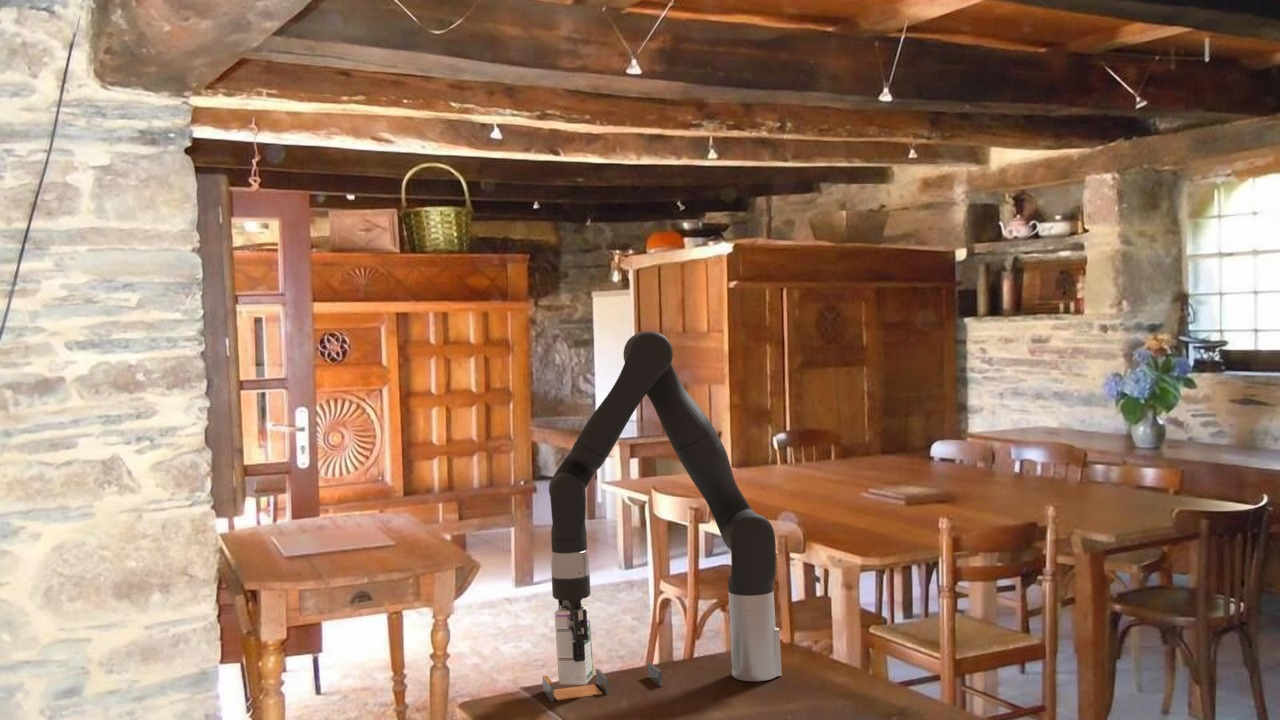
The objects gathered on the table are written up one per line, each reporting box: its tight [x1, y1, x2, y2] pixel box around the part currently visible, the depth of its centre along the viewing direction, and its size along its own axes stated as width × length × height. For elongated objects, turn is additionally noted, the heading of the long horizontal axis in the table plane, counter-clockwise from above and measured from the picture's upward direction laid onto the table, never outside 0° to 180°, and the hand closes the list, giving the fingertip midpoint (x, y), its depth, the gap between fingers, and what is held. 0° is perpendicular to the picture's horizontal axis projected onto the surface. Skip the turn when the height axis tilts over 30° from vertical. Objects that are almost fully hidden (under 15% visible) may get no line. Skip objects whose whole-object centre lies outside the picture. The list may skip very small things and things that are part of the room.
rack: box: [542, 661, 663, 703], centre depth 214 cm, size 23×8×3 cm, turn 108°
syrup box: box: [553, 604, 595, 686], centre depth 213 cm, size 6×6×14 cm
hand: (574, 655), depth 213 cm, fingers closed on syrup box, 7 cm apart
